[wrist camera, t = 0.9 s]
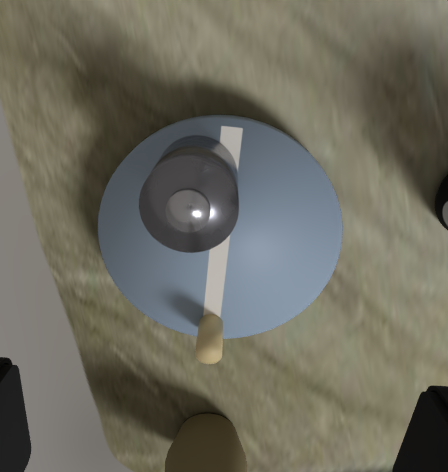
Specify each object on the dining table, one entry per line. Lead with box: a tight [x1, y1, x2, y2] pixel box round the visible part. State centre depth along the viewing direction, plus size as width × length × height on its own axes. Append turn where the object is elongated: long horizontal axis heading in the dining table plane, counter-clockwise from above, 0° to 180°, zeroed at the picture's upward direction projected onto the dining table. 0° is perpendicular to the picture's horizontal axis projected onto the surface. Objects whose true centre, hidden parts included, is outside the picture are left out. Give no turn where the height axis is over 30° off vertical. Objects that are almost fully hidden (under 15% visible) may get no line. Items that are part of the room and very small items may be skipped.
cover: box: [139, 135, 239, 253], centre depth 24 cm, size 6×6×6 cm
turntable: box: [98, 115, 343, 364], centre depth 29 cm, size 18×18×5 cm
